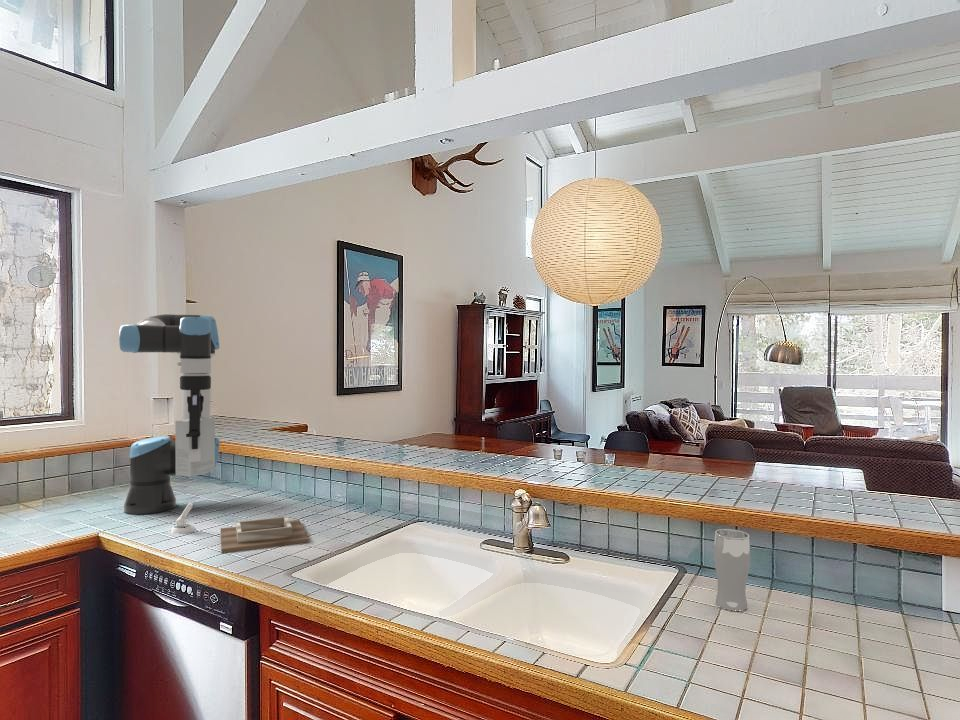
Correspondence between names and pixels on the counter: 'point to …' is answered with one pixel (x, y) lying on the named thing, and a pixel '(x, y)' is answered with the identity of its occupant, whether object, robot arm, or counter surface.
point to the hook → (183, 522)
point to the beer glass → (731, 568)
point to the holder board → (262, 534)
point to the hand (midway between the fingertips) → (195, 458)
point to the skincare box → (206, 448)
